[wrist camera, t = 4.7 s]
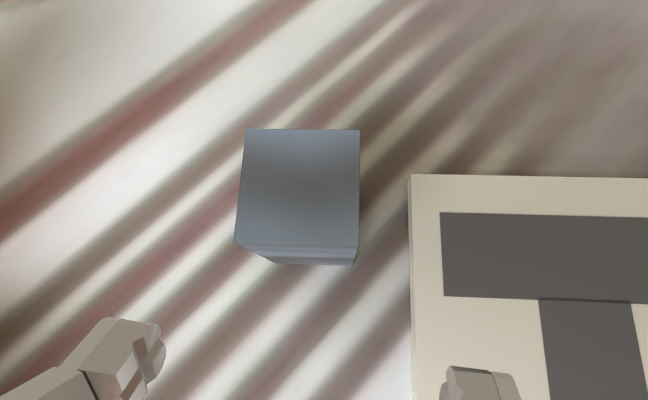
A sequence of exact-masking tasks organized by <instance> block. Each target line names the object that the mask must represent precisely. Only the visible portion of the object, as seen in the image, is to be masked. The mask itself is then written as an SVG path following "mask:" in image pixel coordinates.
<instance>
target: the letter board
mask: <svg viewBox="0 0 648 400" xmlns="http://www.w3.org/2000/svg"><path fill="white" fill-rule="evenodd" d="M407 192H408V229H409V266H410V303H411V340H412V376H413V400H439V394H440V389H441V386H442V384H443V383H444V382H446V381H447V379H446V371H447V368H448V367H449V366H458V367H466V368H474V369H482V370H488V371H492V372H501V373H508V374H510V375H511V376H512V377H513V378H514V381H515V383H516V386H517V389H518V391H519V394H520V396H521V399H522V400H648V178H599V177H548V176H497V175H447V174H411V175H410V176H409V178H408V180H407Z"/></svg>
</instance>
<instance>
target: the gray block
mask: <svg viewBox="0 0 648 400" xmlns="http://www.w3.org/2000/svg"><path fill="white" fill-rule="evenodd" d="M359 176H360V130H314V129H246V134H245V143H244V152H243V161H242V170H241V179H240V188H239V197H238V206H237V215H236V224H235V233H234V242H235V243H237V244H239V245H241V246H243V247H245V248H247V249H249V250H251V251H253V252H255V253H257V254H258V255H260V256H262V257H264V258H266V259H268V260H270V261H272V262H274V263H286V264H314V265H343V266H352V265H353V262H354V259H355V256H356V253H357V249H358V246H359Z"/></svg>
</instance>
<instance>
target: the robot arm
mask: <svg viewBox="0 0 648 400" xmlns="http://www.w3.org/2000/svg"><path fill="white" fill-rule="evenodd" d="M160 334H161V331H160V328H159V325H155V324H148V323H142V322H136V321H130V320H124V319H118V318H111V317H105V318H104V319H102V320H100V321H99V322H98V323H97V324H96V326H95V327H94V328H93V329H92V330H91V331H90V332H89V333H88V335H87V336H86V337H85V338H84V339H83V340H82V341H81V342H80V344H79V345H78V346H77V347H76V348H75V349H74V350H73V352H72V353H71V354H70V355H69V356H68V357H67V358H66V359H65V361H64V362H63V363H62V364H61V365H60V366H59V367H52V368H50V369H49V370H47V371H45V372H43V373H41V374H40V375H38V376H36V377H34V378H32V379H31V380H29V381H27V382H25V383H24V384H22V385H20V386H18V387H16V388H15V389H13V390H11V391H9V392H7V393H6V394H4V395H2V396H0V400H143V399H144V398H145V396H146V394H147V393H148V392H147V384H148V383H149V382H151V381H152V380H154V379H155V378H156V377H157V376H158V374H159V372H160V370H161V369H162V366H163V363H164V360H165V357H166V348H165V344H164V343H163V342H162V341H161V340H160V339H159V338H158V337H159V336H160ZM446 379H447V381H446V382H444V383H443V384H442V386H441V389H440V394H439V400H522V399H521V396H520V394H519V391H518V389H517V386H516V383H515V381H514V378H513V377H512V376H511V375H510V374H508V373H501V372H492V371H488V370H482V369H474V368H466V367H458V366H449V367H448V368H447V371H446Z"/></svg>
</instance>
